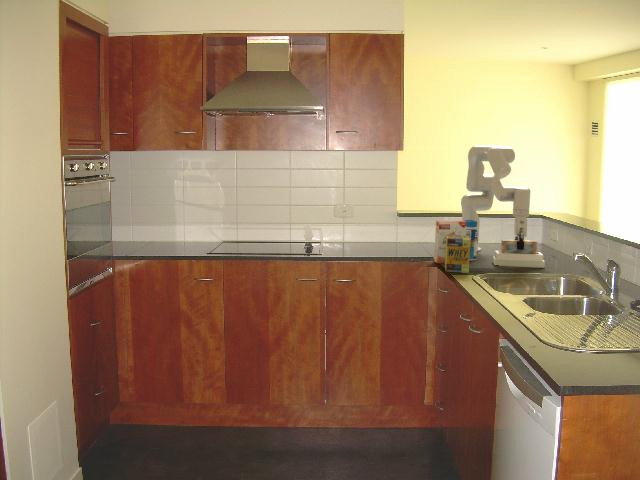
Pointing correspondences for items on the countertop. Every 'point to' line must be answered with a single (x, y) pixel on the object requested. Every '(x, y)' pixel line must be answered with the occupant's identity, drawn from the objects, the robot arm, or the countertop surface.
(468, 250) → the protein box
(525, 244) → the picture frame
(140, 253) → the countertop surface
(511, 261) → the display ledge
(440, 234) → the cracker box
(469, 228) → the beverage bottle
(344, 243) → the countertop surface
